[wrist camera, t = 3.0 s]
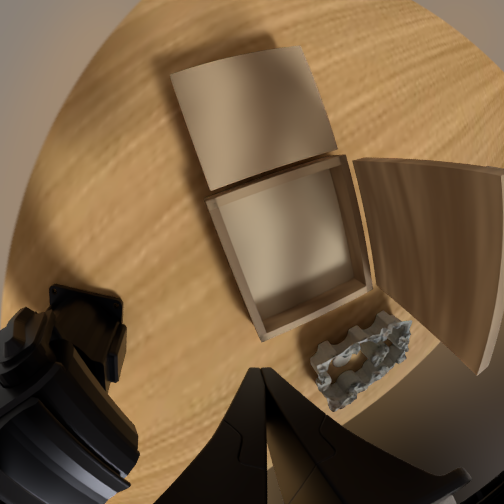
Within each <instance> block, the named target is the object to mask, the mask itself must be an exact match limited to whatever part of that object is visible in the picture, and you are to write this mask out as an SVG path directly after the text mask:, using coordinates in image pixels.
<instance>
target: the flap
mask: <svg viewBox="0 0 504 504" xmlns="http://www.w3.org/2000/svg"><path fill="white" fill-rule="evenodd" d="M353 165H354V169H355V173H356V177H357V181H358V185H359V189H360V194H361V198H362V203H363V207H364V212H365V217H366V222H367V227H368V233H369V238H370V244H371V250H372V256H373V263H374V270H375V277H376V285H377V286H378V287H379V288H381V289H382V290H383V291H384V292H385V293H386V294H388V295H389V296H390V297H391V298H392V299H394V300H395V301H396V302H397V303H398V304H399V305H401V306H402V307H403V308H404V309H405V310H406V311H408V312H409V313H410V314H411V315H412V316H413V317H414V318H415V319H417V320H418V321H419V322H420V323H421V324H422V325H423V326H425V327H426V328H427V329H428V330H429V331H430V332H431V333H432V334H433V335H434V336H436V337H437V338H438V339H439V340H440V341H441V342H442V343H443V344H444V345H445V346H446V347H447V348H449V349H450V350H451V351H452V352H453V353H454V354H455V355H456V356H457V357H458V358H459V359H460V360H461V361H462V362H463V363H464V364H465V365H467V367H468V368H470V369H471V370H472V371H473V372H474V373H475V374H476V375H478V374H479V373H480V372H482V371H483V370H484V369H485V368H486V367H488V365H489V362H490V359H491V356H492V353H493V350H494V347H495V343H496V340H497V336H498V332H499V329H500V324H501V320H502V316H503V311H504V169H503V168H497V167H490V166H486V167H484V166H477V165H470V164H461V163H452V162H442V161H430V160H416V159H398V158H361V159H357V160H353Z"/></svg>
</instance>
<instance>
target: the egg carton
mask: <svg viewBox="0 0 504 504" xmlns="http://www.w3.org/2000/svg"><path fill="white" fill-rule="evenodd" d="M411 324H412V321H403V322H402V321H400V320H399V319H398V318H396V317H395V316H394V315H389V314H388V313H386V312H385V311H381V312H380V313H378V314H377V315H376V319H375V321H374V323H373V324H372V326H371V327H369V328H367V329H365V330H362V329H361V328H360V327H359V326H357V325H356V326H354V327H352V328H350V329H349V331H348V335H347V337H346V338H345V340H344V341H342V342H341V343H339V344H337V345H331V344H330V343H329V342H328V341H324V342H322V343H320V344H319V345H318V350H317V352H316V353H315V355H314V356H312V357H311V358H310V361H311V365H312V367H313V368H314V370H315V371H316V373H317V374H318V376H319V377H318V378H317V379H316V385H317V386H318V390H319V391H320V392H322V394H323V395H324V397H326V398H327V401H328V406H329V408H330V410H331V411H332V412H335V411H337V410H338V409H342V408H344V407H345V406H346V405H348V404H351V403H352V402H353V401H354V400H355V399H357V393H360V392H362V391H365V390H366V389H367V388H368V386H369V385H371V384H372V383H373V382H375V381H377V380H379V379H381V378H382V377H383V376H384V375H385V374H386V373H387V372H388V371H389V370H390V369H391V368H393V367H394V365H395V363H398V364H399V363H401V362H403V361H404V360H405V359H406V356H405V352H408V350H409V349H408V344H409V337H410V335H411V333H410V330H409V329H410V326H411ZM386 339H389V340H390V341H391V342H392V343H393V344H392V345H391V346H390V347H388V346H387V345H386V344H385V343H384V342H383V341H385V340H386ZM360 343H361V346H360ZM360 350H361V352H362V353H363V354H364V355H365V356H366V357H367V358H368V359H367V360H366V361H365V362H364V364H363V366H362V368H361V369H359V370H358V371H357V372H355V373H354V372H353V371H352V370H348V371H345V372H343V373H342V374H341V375H340V376H339V377H338V378H337V381H336V383H334V384H332V385H330V383H331V377H330V376H329V374H328V373H327V372H326V371H327V370H328V366H329V364H330V361H331V360H332V359H333V358H334V359H333V365H334V366H335V367H341V366H344V365H346V364H347V363H348V362H349V360H350V359H351V356H352V354H356V355H357V354H358V352H359V351H360Z"/></svg>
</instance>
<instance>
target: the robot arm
mask: <svg viewBox="0 0 504 504" xmlns="http://www.w3.org/2000/svg"><path fill="white" fill-rule="evenodd" d="M54 289H56V291H57V293H56V292H55V291H54ZM49 296H50V307H49V308H48V309H47V310H46V311H45V312H43V313H39V314H37V312H34V311H32V310H30V309H29V308H27V307H24V308H22V309H20V310H19V311H18V312H17V313H16V314H15V315H14V316H13V317H12V318H11V319H10V321H9V322H8V324H7V326H6V327H5V328H3V329H2V330H0V504H105V503H106V502H107V500H108V499H110V498H111V497H112V496H114V495H115V494H116V493H118V492H120V491H123V490H125V489H127V488H129V487H130V486H131V484H130V482H128V481H127V480H125V479H124V478H125V477H126V476H127V475H128V474H129V473H130V471H131V470H132V469H133V467H134V466H135V465H136V463H137V461H138V458H139V456H140V453H139V451H138V450H137V449H138V434H137V431H136V428H135V425H134V424H133V423H132V422H131V421H130V420H129V419H128V418H127V416H126V415H125V414H124V413H123V412H122V411H121V410H120V408H119V407H118V406H117V405H116V404H115V402H114V401H113V400H112V399H111V397H110V396H109V395H108V390H109V386H110V383H111V382H114V383H116V382H118V381H119V377H120V373H121V369H122V365H123V361H124V358H125V354H126V337H127V327H126V326H125V324H122V322H123V302H122V300H121V299H119V298H116V297H111V296H106V295H102V294H97V293H92V292H88V291H83V290H79V289H75V288H70V287H66V286H62V285H58V284H53V285H52V286H51V287H50V288H49ZM114 303H118V304H119V306H118V307H117V306H115V305H114ZM267 444H268V448H269V451H270V455H271V459H272V463H273V466H274V470H275V474H276V477H277V481H278V485H279V488H280V491H281V495H282V499H283V502H284V504H456V502H455V500H454V497H453V494H454V493H456V491H458V490H460V489H461V488H463V487H464V486H465V485H466V484H468V483H469V482H470V481H471V480H472V479H471V477H470V475H469V474H468V472H467V471H466V470H465V469H464V468H462V467H459V468H457V469H455V470H453V471H451V472H450V473H448V474H446V475H442V476H437V475H433V474H430V473H428V472H426V471H424V470H422V469H419V468H417V467H415V466H413V465H411V464H409V463H407V462H405V461H403V460H401V459H399V458H397V457H395V456H393V455H391V454H389V453H387V452H386V451H384V450H382V449H380V448H378V447H376V446H374V445H373V444H371V443H369V442H367V441H365V440H364V439H362V438H360V437H359V436H357V435H355V434H354V433H352V432H350V431H349V430H347V429H346V428H344V427H343V426H341V425H340V424H339V423H337V422H336V421H335V420H333V419H332V418H331V417H329V416H328V415H326V414H325V413H324V412H323V411H321V410H320V409H319V408H318V407H317V406H315V405H314V404H313V403H312V402H311V401H309V400H308V399H307V398H306V397H305V396H303V395H302V394H301V393H300V392H299V391H297V390H296V389H295V388H294V387H293V386H292V385H290V384H289V383H288V382H287V381H286V380H285V379H284V378H282V377H281V376H280V375H279V374H278V373H277V372H276V371H275V370H273V369H272V368H270V367H267V368H261V369H260V368H249V369H248V371H247V373H246V375H245V377H244V379H243V381H242V383H241V385H240V387H239V389H238V391H237V393H236V395H235V397H234V399H233V400H232V402H231V404H230V406H229V408H228V410H227V412H226V414H225V416H224V418H223V419H222V421H221V423H220V425H219V426H218V428H217V430H216V431H215V433H214V435H213V436H212V438H211V439H210V440H209V442H208V443H207V444H206V446H205V447H204V448H203V449H202V450H201V452H200V453H199V454H198V455H197V456H196V458H195V459H194V460H193V461H192V462H191V463H190V464H189V466H188V467H187V468H186V469H185V470H184V471H183V472H182V474H181V475H180V476H179V477H178V478H177V479H176V480H175V481H174V482H173V483H172V485H171V486H170V487H169V488H168V489H167V490H166V491H165V492H164V493H163V494H162V495H161V496H160V497H159V498H158V499H157V500H156V501H155V502H154V503H153V504H267ZM460 504H504V471H502V472H501V473H500V474H499V475H498V476H496V477H495V478H494V479H493V480H491V482H489V483H488V484H486V485H485V486H484V487H482V488H481V489H480V490H479V491H477V492H476V493H474V494H473V495H472V496H470V497H469V498H467V499H466V500H464V501H463V502H461V503H460Z"/></svg>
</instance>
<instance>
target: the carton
mask: <svg viewBox="0 0 504 504" xmlns="http://www.w3.org/2000/svg"><path fill="white" fill-rule="evenodd" d="M170 79H171V82H172V85H173V88H174V91H175V94H176V97H177V100H178V103H179V106H180V108H181V111H182V114H183V117H184V120H185V123H186V125H187V128H188V131H189V134H190V137H191V140H192V142H193V145H194V148H195V151H196V154H197V156H198V159H199V162H200V165H201V167H202V170H203V173H204V176H205V178H206V181H207V184H208V187H209V189H210V191H212V190H215V189H218V188H220V187H223V186H226V185H228V184H231V183H234V182H237V181H240V180H242V179H245V178H248V177H251V176H254V175H257V174H260V173H262V172H265V171H268V170H271V169H274V168H278V167H281V166H284V165H287V164H290V163H293V162H296V161H300V160H303V159H306V158H309V157H313V156H316V155H319V154H323V153H326V152H330V151H333V150H337V149H338V148H337V145H336V141H335V138H334V135H333V132H332V129H331V125H330V122H329V119H328V116H327V113H326V110H325V107H324V105H323V102H322V99H321V96H320V93H319V91H318V88H317V85H316V83H315V80H314V78H313V75H312V72H311V70H310V67H309V65H308V63H307V60H306V58H305V55H304V53H303V51H302V48H301V46H292V47H284V48H277V49H270V50H264V51H258V52H253V53H248V54H243V55H238V56H233V57H229V58H225V59H221V60H217V61H213V62H209V63H205V64H202V65H198V66H195V67H192V68H188V69H185V70H182V71H179V72H176V73H173V74H170ZM204 200H205V203H206V206H207V208H208V211H209V214H210V216H211V219H212V221H213V224H214V227H215V229H216V232H217V234H218V237H219V240H220V242H221V245H222V247H223V250H224V253H225V255H226V258H227V260H228V263H229V265H230V268H231V270H232V273H233V275H234V278H235V280H236V283H237V285H238V288H239V290H240V293H241V295H242V298H243V300H244V303H245V305H246V308H247V310H248V312H249V315H250V317H251V320H252V322H253V325H254V327H255V329H256V331H257V333H258V336H259V338H260V340H261V342H264V341H266V340H269V339H271V338H273V337H276V336H278V335H280V334H282V333H285V332H287V331H289V330H291V329H294V328H296V327H298V326H300V325H302V324H305V323H307V322H309V321H311V320H313V319H315V318H317V317H319V316H322V315H324V314H326V313H328V312H330V311H332V310H334V309H336V308H338V307H340V306H342V305H344V304H346V303H348V302H350V301H352V300H353V299H355V298H357V297H359V296H361V295H363V294H365V293H367V292H369V291H370V290H372V289H373V286H372V279H371V272H370V265H369V259H368V253H367V247H366V241H365V236H364V230H363V225H362V220H361V215H360V211H359V206H358V202H357V197H356V193H355V189H354V185H353V181H352V177H351V173H350V169H349V165H348V161H347V158H346V155H333V156H326V157H323V158H320V159H316V160H313V161H310V162H307V163H303V164H300V165H297V166H294V167H291V168H288V169H285V170H281V171H278V172H275V173H272V174H270V175H267V176H264V177H261V178H258V179H255V180H252V181H249V182H246V183H244V184H241V185H238V186H235V187H233V188H230V189H227V190H225V191H222V192H219V193H217V194H214V195H211V196H209V197H206V198H204Z"/></svg>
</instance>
